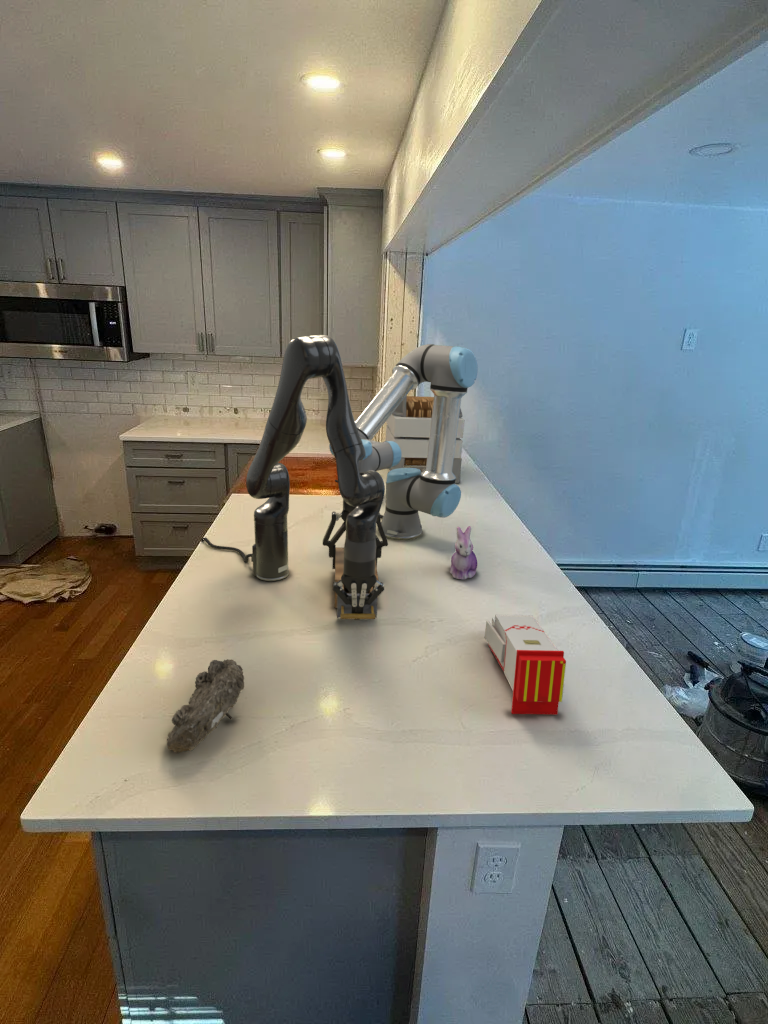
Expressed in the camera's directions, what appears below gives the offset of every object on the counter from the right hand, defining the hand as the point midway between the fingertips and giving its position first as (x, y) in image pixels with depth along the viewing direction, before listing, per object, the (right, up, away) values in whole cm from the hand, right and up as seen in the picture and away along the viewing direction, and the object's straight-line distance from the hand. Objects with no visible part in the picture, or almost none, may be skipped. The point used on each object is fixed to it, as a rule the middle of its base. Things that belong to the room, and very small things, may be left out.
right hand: (354, 567), depth 165 cm
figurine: (+32, -3, +7) cm, 33 cm away
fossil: (-24, -23, -57) cm, 66 cm away
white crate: (+26, +35, +110) cm, 119 cm away
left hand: (+2, -10, -25) cm, 27 cm away
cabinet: (0, -6, -5) cm, 8 cm away
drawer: (+1, -8, -15) cm, 17 cm away
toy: (+38, -20, -39) cm, 58 cm away
